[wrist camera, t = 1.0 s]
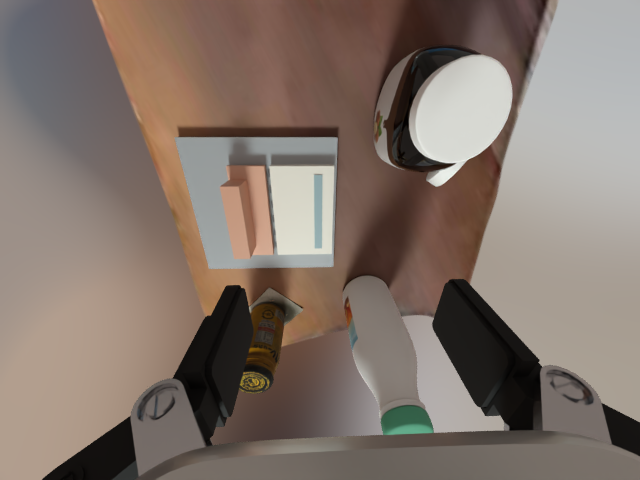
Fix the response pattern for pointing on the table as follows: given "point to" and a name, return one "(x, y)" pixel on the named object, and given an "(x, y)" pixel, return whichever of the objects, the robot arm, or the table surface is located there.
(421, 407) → the milk bottle
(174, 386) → the robot arm
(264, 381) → the condiment
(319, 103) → the table surface
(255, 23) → the table surface
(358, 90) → the table surface
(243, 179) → the stub
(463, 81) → the spread jar
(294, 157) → the board
